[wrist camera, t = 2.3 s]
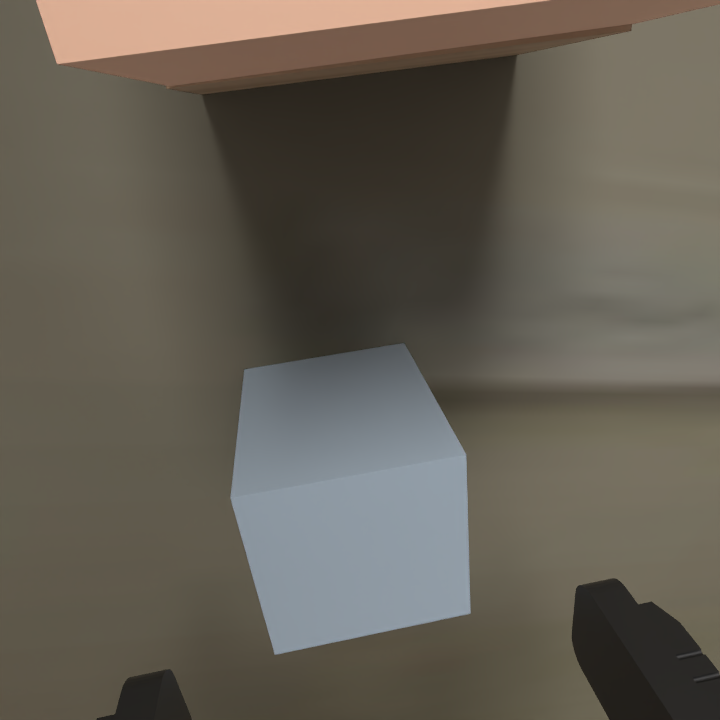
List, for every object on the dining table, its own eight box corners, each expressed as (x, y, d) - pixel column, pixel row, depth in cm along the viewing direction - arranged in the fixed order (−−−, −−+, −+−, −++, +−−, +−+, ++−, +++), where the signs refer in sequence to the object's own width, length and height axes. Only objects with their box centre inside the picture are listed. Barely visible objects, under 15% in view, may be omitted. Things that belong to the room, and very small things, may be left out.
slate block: (244, 368, 16) (230, 498, 11) (403, 342, 17) (466, 454, 11) (274, 495, 18) (274, 655, 13) (414, 469, 19) (470, 613, 14)
